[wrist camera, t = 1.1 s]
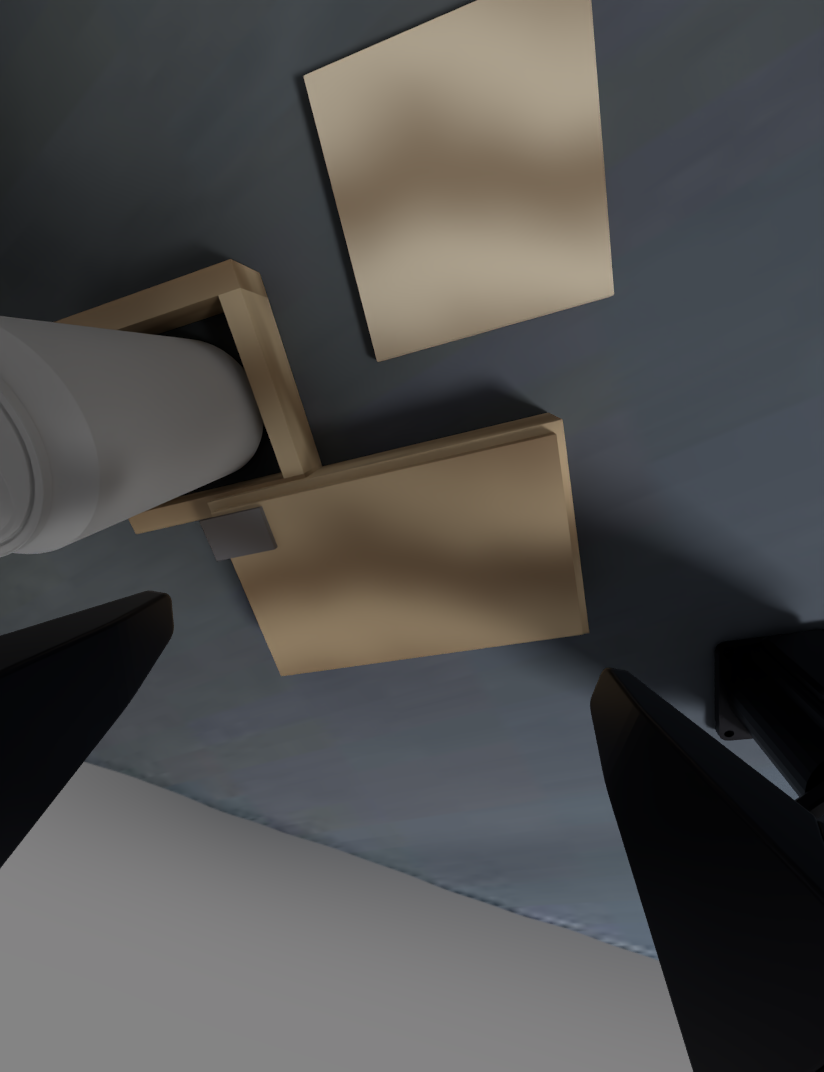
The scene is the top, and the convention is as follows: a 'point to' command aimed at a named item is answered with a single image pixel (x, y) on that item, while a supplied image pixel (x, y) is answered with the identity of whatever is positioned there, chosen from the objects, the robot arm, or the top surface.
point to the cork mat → (469, 171)
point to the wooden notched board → (373, 513)
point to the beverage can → (110, 427)
